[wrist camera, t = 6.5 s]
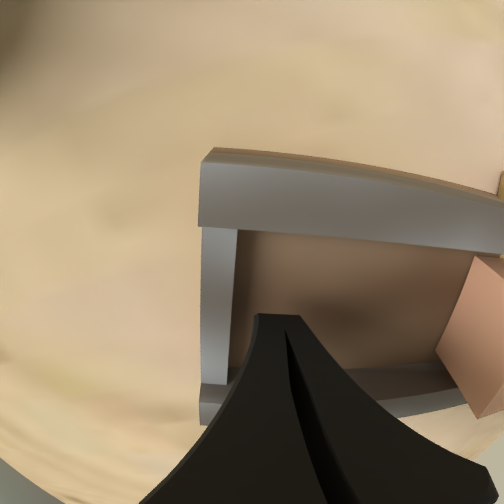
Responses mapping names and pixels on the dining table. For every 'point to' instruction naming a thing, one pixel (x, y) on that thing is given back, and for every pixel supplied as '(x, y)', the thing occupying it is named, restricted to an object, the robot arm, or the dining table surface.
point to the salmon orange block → (478, 338)
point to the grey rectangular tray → (338, 267)
